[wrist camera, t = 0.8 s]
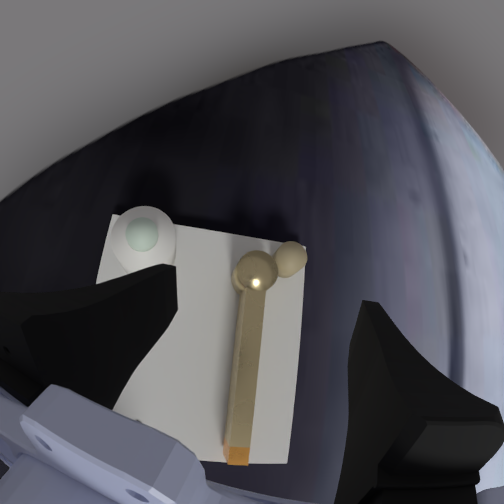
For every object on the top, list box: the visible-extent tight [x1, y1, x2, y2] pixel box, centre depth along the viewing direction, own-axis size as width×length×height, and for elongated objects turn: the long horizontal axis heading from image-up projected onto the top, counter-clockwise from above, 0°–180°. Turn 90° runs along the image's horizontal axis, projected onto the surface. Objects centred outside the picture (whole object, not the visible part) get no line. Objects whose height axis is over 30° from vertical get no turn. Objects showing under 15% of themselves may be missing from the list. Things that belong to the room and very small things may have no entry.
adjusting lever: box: [223, 250, 278, 465], centre depth 24 cm, size 17×3×3 cm, turn 174°
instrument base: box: [96, 206, 307, 464], centre depth 24 cm, size 20×18×6 cm
